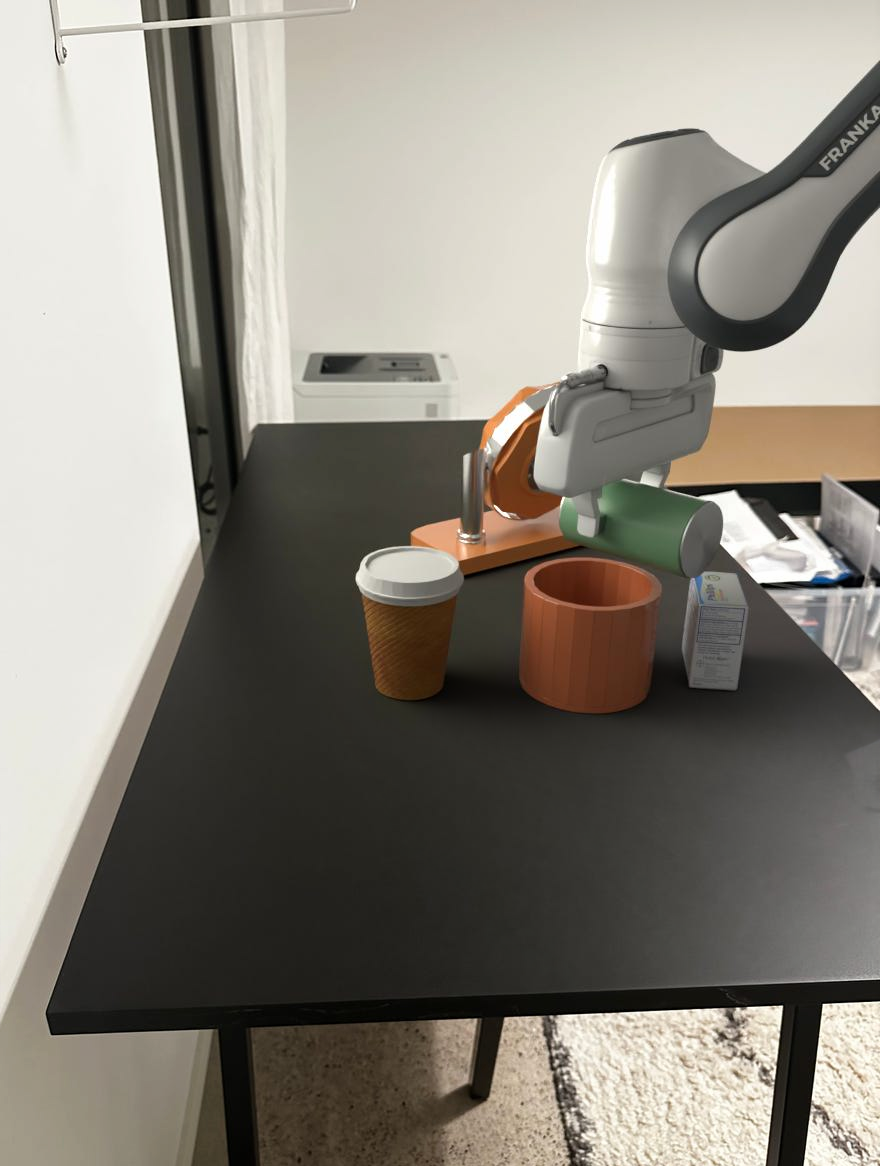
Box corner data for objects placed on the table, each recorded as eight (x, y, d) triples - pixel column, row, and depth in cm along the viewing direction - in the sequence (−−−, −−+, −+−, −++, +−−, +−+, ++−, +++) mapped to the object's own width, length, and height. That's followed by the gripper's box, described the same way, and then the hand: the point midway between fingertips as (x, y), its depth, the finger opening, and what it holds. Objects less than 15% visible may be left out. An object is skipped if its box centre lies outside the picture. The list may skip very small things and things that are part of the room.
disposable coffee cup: (337, 681, 97) (333, 561, 92) (414, 651, 102) (415, 536, 97) (402, 721, 90) (403, 594, 85) (482, 687, 96) (487, 566, 91)
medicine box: (737, 692, 95) (751, 606, 91) (686, 689, 96) (699, 602, 92) (726, 654, 102) (739, 572, 98) (679, 650, 103) (690, 569, 99)
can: (719, 565, 87) (728, 492, 84) (677, 589, 83) (685, 513, 80) (600, 530, 94) (604, 462, 91) (556, 551, 90) (559, 480, 87)
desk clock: (652, 532, 133) (670, 372, 124) (461, 582, 118) (466, 405, 109) (587, 506, 142) (600, 355, 133) (402, 548, 127) (403, 383, 118)
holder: (675, 681, 97) (688, 582, 92) (598, 728, 89) (609, 622, 85) (571, 641, 104) (578, 547, 100) (492, 680, 97) (497, 581, 93)
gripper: (588, 383, 74) (574, 565, 80) (735, 346, 87) (713, 504, 93) (519, 370, 78) (510, 544, 84) (669, 336, 91) (652, 489, 97)
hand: (618, 522), depth 89 cm, fingers closed on can, 6 cm apart
